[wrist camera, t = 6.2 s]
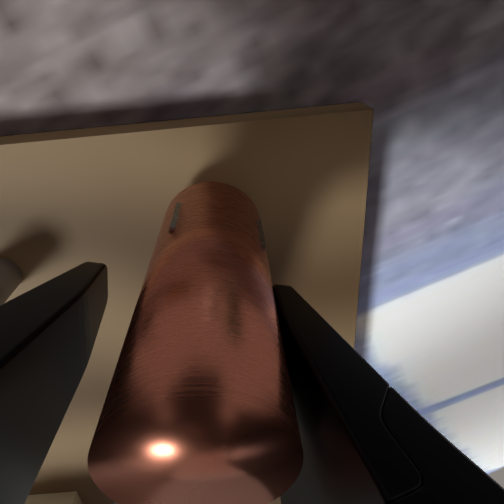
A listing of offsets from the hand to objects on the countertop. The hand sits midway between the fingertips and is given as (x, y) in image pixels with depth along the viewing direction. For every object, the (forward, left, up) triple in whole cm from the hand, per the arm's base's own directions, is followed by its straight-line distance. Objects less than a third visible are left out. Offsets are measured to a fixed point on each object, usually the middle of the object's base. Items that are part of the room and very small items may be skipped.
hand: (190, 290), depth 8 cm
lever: (-8, +2, -3) cm, 9 cm away
